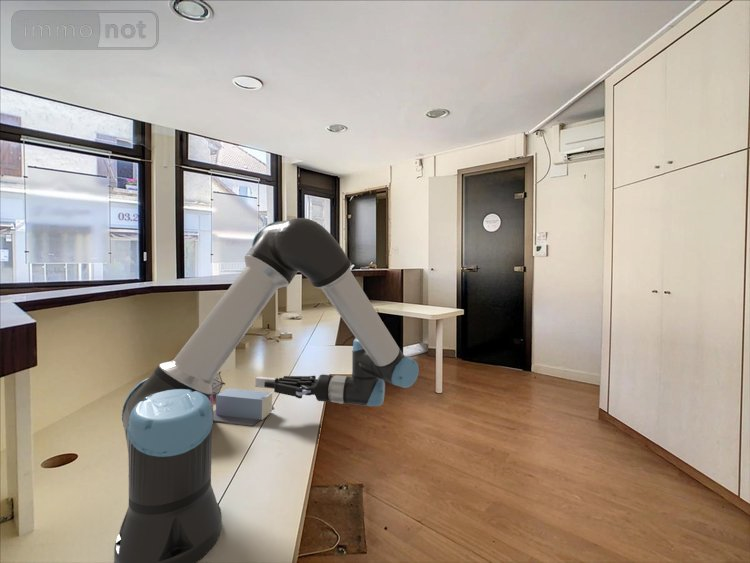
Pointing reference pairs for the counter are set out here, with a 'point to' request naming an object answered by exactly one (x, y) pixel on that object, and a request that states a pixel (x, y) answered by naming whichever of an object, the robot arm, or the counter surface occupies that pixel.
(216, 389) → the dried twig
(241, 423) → the mat
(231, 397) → the plain blue-gray rectangular block
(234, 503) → the counter surface
